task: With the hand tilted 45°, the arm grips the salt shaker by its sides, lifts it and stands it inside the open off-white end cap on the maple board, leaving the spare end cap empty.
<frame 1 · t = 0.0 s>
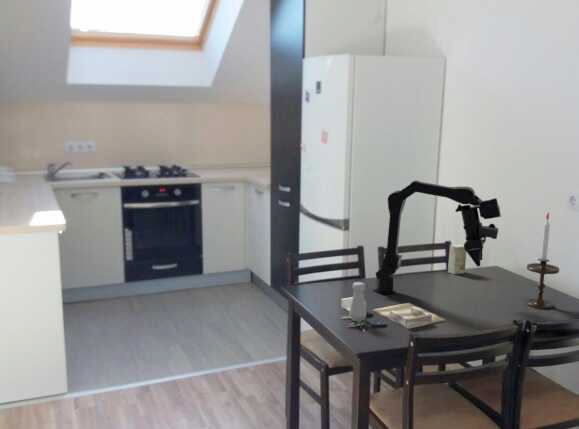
hand: (479, 263, 217), 15 cm above the table, tool pointing down, fingers open, 9 cm apart
candlestick: (539, 305, 219), on the table
spare end cap: (353, 308, 212), on the table
salt shaker: (357, 320, 201), on the table
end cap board: (408, 315, 206), on the table
skincare box: (456, 273, 260), on the table
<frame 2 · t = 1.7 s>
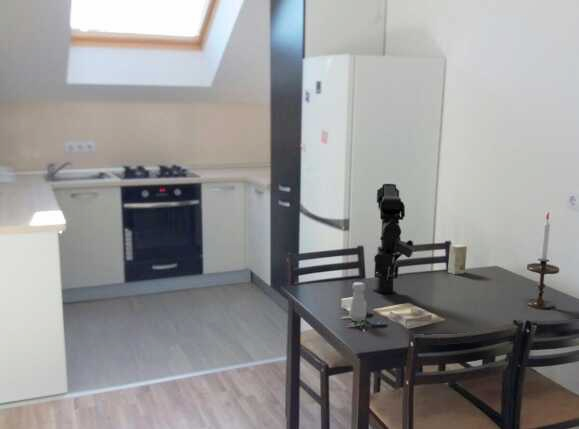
hand: (388, 276, 210), 12 cm above the table, tool pointing down, fingers open, 9 cm apart
nothing on the table moved.
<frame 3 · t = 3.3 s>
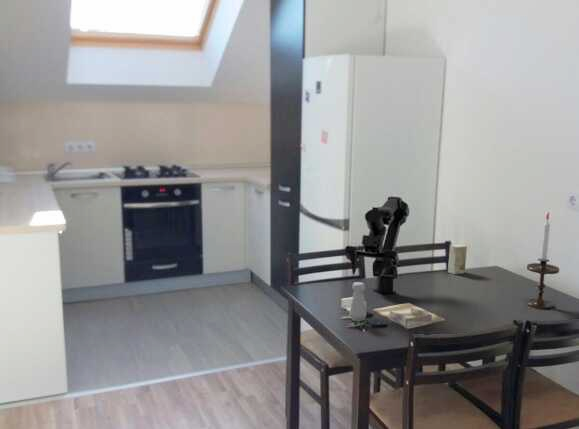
hand: (366, 275, 206), 13 cm above the table, tool tilted 45°, fingers open, 9 cm apart
nothing on the table moved.
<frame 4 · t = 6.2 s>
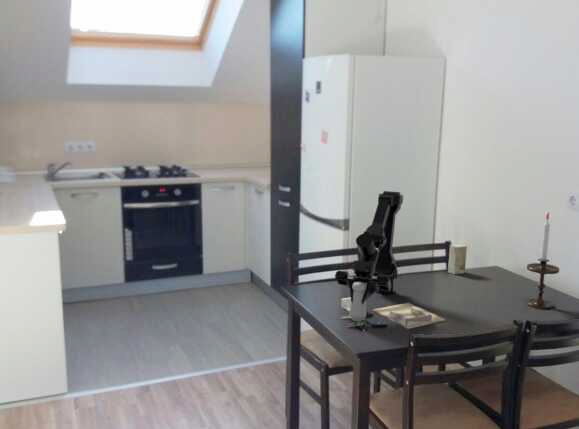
hand: (357, 302, 199), 7 cm above the table, tool tilted 45°, fingers closed on salt shaker, 3 cm apart
salt shaker: (357, 320, 201), on the table, touching gripper
everything else where it was.
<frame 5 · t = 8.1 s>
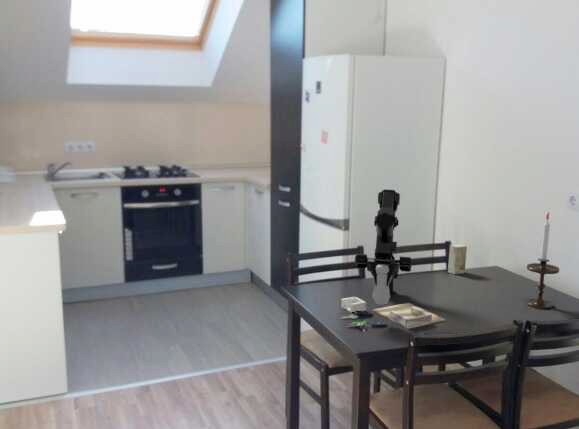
hand: (381, 285, 196), 13 cm above the table, tool tilted 45°, fingers closed on salt shaker, 3 cm apart
salt shaker: (380, 303, 199), point 6 cm above the table, touching gripper
everything else where it was.
when the fingers open (8 cm above the table, at t = 10.3 s): salt shaker drops 1 cm, resting on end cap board.
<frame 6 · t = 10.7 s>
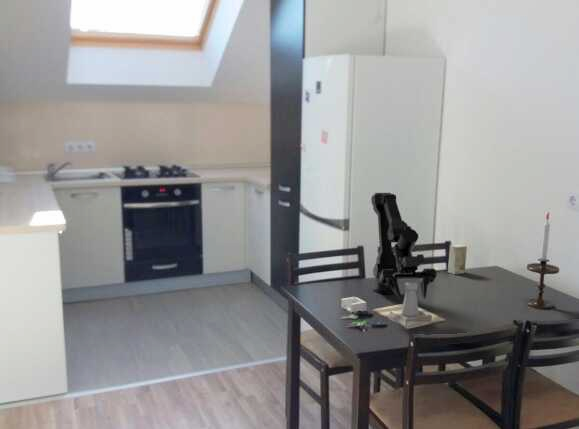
hand: (412, 298, 198), 9 cm above the table, tool tilted 45°, fingers open, 8 cm apart
salt shaker: (409, 320, 201), resting on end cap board
everything else where it was.
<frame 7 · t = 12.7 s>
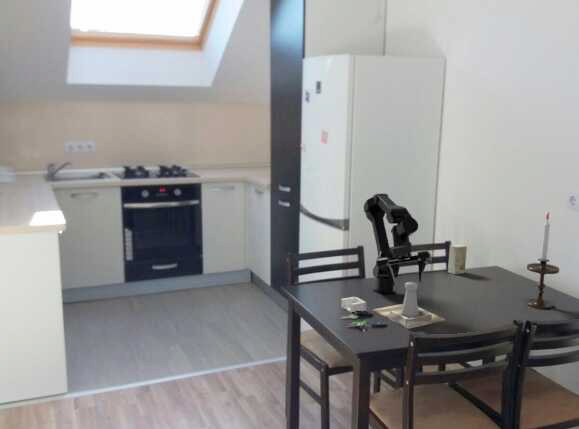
hand: (407, 283, 208), 10 cm above the table, tool tilted 30°, fingers open, 9 cm apart
nothing on the table moved.
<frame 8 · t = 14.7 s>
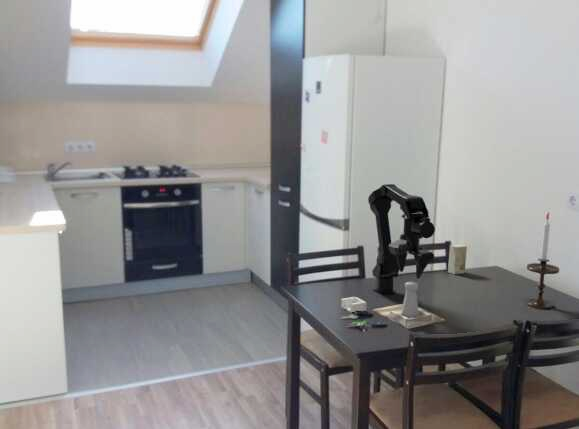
hand: (409, 274, 213), 12 cm above the table, tool pointing down, fingers open, 9 cm apart
nothing on the table moved.
at the end: salt shaker inside the target area (0.1 cm from its centre), resting on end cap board; salt shaker tilted 0°; the gripper is holding nothing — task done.
